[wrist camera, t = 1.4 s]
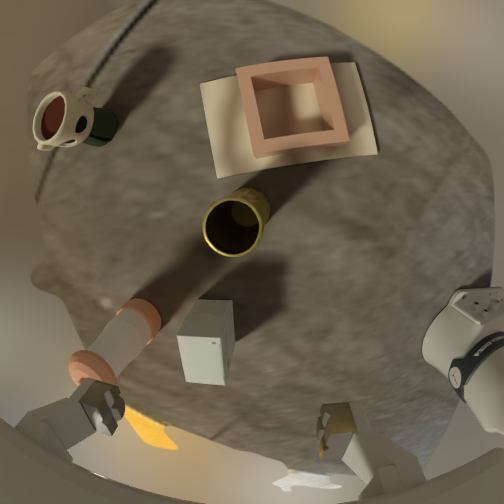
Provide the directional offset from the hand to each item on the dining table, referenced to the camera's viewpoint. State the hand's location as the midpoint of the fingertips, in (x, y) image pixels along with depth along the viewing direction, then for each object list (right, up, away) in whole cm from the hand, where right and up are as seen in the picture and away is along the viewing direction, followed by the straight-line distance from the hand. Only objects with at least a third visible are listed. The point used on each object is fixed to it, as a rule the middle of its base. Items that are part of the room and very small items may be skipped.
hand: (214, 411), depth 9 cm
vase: (+1, +12, +28) cm, 30 cm away
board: (+6, +24, +24) cm, 35 cm away
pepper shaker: (-17, -5, +34) cm, 38 cm away
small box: (-4, -5, +33) cm, 33 cm away
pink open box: (+6, +24, +23) cm, 34 cm away
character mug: (-22, +26, +26) cm, 43 cm away
